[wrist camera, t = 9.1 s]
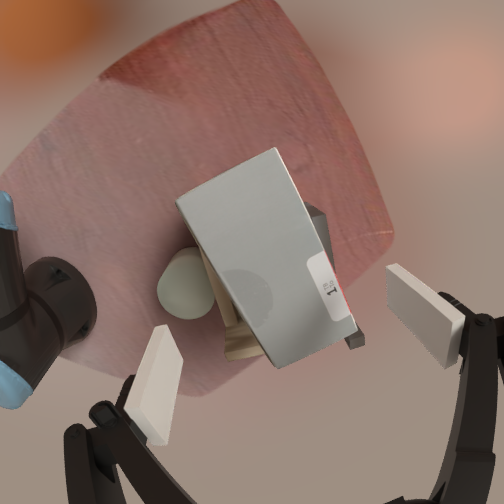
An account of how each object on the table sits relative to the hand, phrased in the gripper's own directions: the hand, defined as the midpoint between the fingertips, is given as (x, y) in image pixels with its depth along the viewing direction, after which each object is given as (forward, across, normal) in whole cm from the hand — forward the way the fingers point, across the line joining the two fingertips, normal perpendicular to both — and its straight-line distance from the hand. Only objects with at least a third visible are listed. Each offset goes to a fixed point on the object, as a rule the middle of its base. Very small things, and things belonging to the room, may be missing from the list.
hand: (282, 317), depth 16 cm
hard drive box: (+24, +1, +1) cm, 24 cm away
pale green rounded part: (+24, -10, -4) cm, 26 cm away
